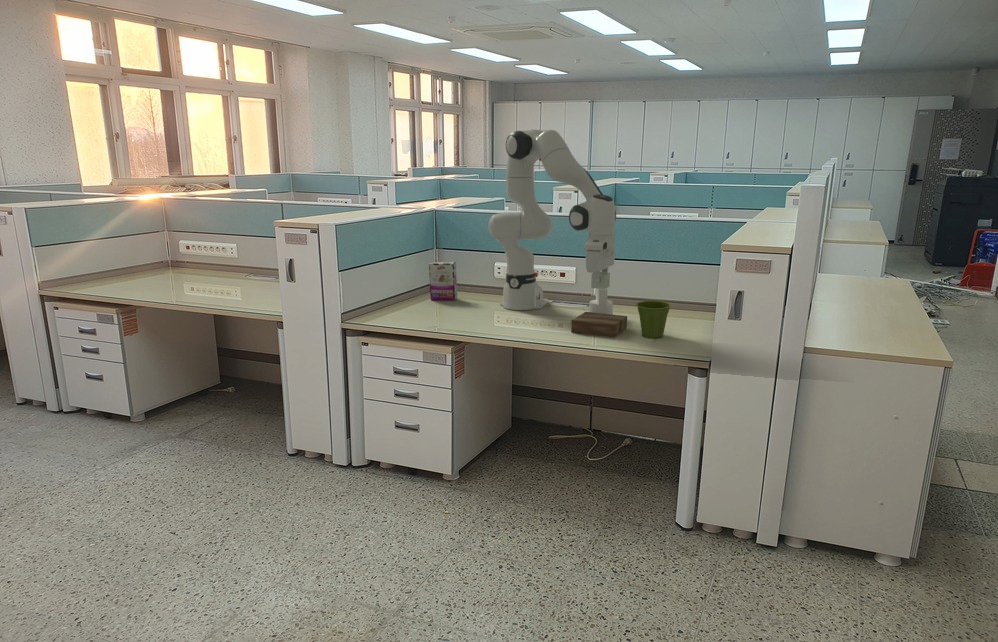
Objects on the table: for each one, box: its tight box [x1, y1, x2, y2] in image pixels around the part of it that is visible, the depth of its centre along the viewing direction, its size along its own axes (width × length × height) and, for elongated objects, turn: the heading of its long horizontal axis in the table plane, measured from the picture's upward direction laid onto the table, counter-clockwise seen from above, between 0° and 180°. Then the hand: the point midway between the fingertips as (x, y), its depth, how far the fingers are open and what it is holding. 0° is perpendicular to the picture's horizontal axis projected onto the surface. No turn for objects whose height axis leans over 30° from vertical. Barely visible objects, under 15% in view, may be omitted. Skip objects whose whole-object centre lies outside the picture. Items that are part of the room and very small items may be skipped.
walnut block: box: [570, 311, 628, 339], centre depth 241 cm, size 14×16×5 cm
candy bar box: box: [428, 261, 458, 301], centre depth 293 cm, size 11×5×16 cm, turn 81°
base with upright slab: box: [588, 288, 614, 315], centre depth 259 cm, size 9×9×12 cm
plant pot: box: [635, 300, 672, 339], centre depth 232 cm, size 12×12×11 cm
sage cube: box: [590, 271, 611, 289], centre depth 236 cm, size 5×5×5 cm
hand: (600, 281), depth 237 cm, fingers closed on sage cube, 5 cm apart
